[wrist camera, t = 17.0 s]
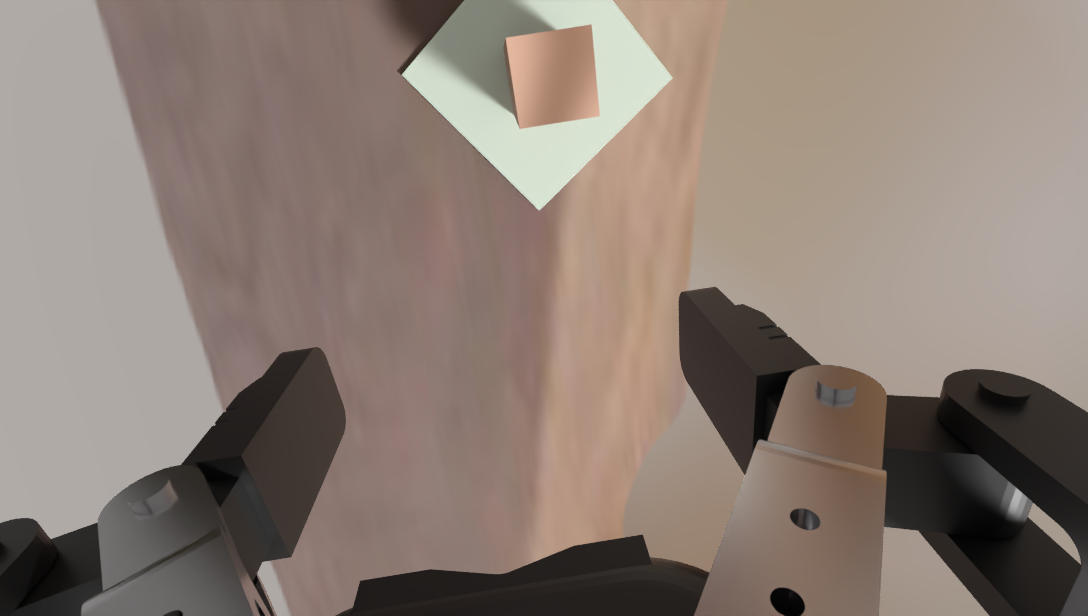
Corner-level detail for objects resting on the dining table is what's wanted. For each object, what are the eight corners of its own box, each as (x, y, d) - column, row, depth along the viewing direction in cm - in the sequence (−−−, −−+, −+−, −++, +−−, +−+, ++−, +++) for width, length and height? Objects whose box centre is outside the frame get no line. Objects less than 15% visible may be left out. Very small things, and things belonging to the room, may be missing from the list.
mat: (402, 74, 34) (401, 74, 34) (540, -90, 31) (541, -92, 31) (538, 209, 39) (539, 210, 38) (670, 77, 36) (672, 77, 35)
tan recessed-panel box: (513, 114, 35) (519, 128, 26) (503, 47, 34) (505, 37, 24) (573, 105, 35) (599, 116, 26) (566, 37, 34) (591, 24, 25)
